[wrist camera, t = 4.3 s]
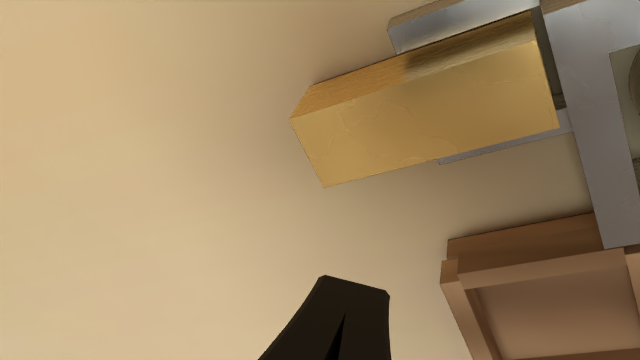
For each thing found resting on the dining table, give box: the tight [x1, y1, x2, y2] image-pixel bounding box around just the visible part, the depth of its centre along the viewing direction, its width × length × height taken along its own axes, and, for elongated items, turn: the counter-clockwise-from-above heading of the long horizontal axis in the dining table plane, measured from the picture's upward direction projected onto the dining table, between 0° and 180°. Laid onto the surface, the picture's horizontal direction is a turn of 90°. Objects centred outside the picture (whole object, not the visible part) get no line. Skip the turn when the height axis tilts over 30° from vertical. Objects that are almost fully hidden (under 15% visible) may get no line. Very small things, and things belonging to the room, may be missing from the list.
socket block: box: [387, 0, 640, 249], centre depth 15 cm, size 8×11×2 cm
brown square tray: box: [440, 212, 640, 360], centre depth 20 cm, size 6×6×2 cm
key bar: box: [289, 11, 560, 188], centre depth 16 cm, size 2×7×2 cm, turn 116°
